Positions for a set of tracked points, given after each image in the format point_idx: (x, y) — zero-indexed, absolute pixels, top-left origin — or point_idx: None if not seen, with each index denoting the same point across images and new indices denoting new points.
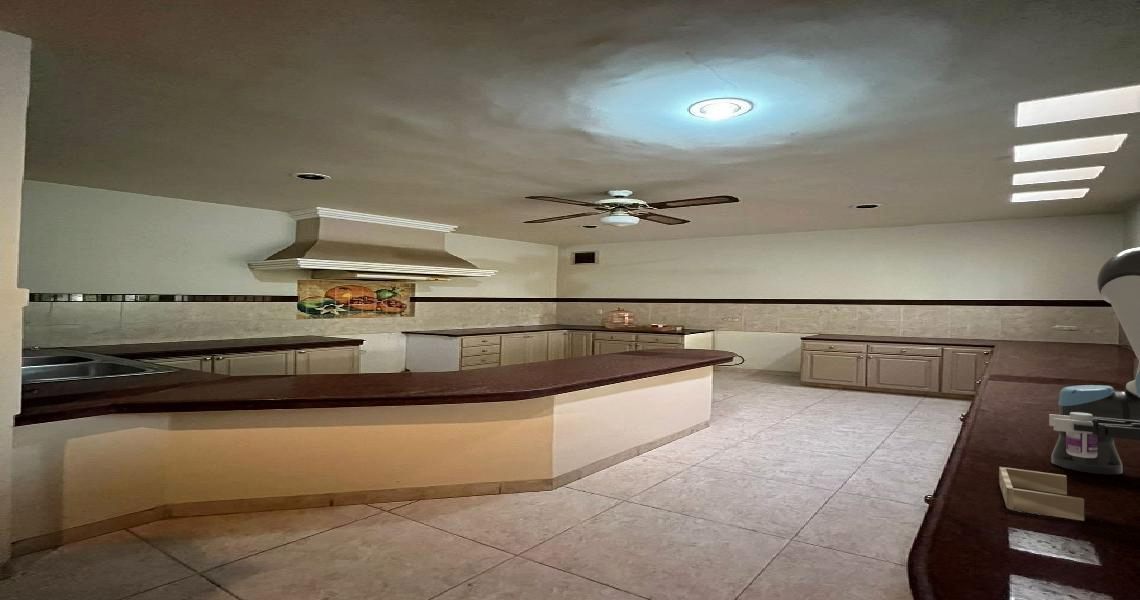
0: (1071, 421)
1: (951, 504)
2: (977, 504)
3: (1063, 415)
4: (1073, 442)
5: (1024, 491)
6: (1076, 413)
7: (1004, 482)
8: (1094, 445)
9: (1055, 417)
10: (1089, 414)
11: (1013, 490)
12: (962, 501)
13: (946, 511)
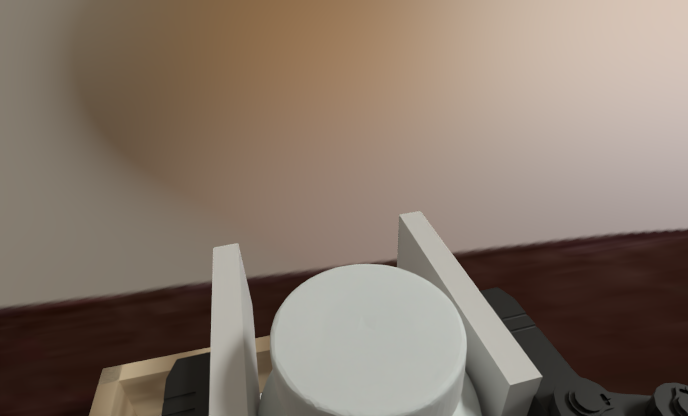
0: (211, 328)
1: (97, 312)
2: (129, 348)
3: (448, 260)
4: None
5: (89, 414)
6: (335, 298)
7: (205, 350)
8: None
9: (410, 246)
10: (364, 389)
11: (99, 386)
12: (141, 321)
13: (25, 318)
